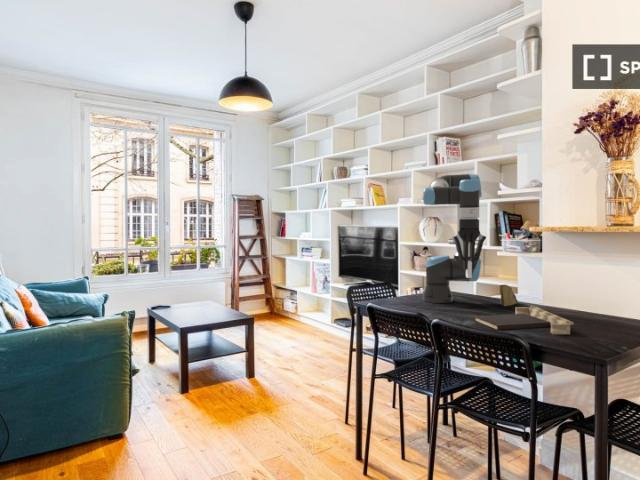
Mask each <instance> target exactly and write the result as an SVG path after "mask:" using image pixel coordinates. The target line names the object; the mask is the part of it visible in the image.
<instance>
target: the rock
mask: <svg viewBox="0 0 640 480" xmlns="http://www.w3.org/2000/svg"><path fill="white" fill-rule="evenodd" d="M499 294H500V301H499V302H500V305H501V306H503V307H509V306H513V305H515V304H518V303H519V302H518V299H517V296H516V294H515V293H514V291H513V288H512V287H511V286H509V285H508V284H500V286H499Z"/></svg>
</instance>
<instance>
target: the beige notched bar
mask: <svg viewBox="0 0 640 480" xmlns="http://www.w3.org/2000/svg"><path fill="white" fill-rule="evenodd" d="M514 310H515V313H514V314H527V315H530V316H533V317H536V318H539V319H542V320H545V321H548V322H550V323H551V327H550V334H551V333H552V334H551V335H571V326H573V325H574V322H573V321H571V320H569V319H566V318H564V317H563V316H560V315H557V314H554V313H552V312H550V311H547V310H545V309H542V308H541V307H537V306H536V305H532V304H531V305H530V306H529V307H526V306H521V307H520V306H519V307H517V306H516V307H515V309H514Z"/></svg>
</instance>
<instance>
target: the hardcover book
mask: <svg viewBox="0 0 640 480" xmlns="http://www.w3.org/2000/svg"><path fill="white" fill-rule="evenodd" d="M474 318H475V321H476V322H478V323H480V324H483V325H486V326H487V327H491V328H493V329H495V330H497V331H500V330H501V331H502V330H516V329H517V330H518V329H519V330H521V329H533V328H535V329H536V327H538V328H549V327H548V326H551V323H550V322H548V321H545V320H542V319H539V318H536V317H533V316H530V315H527V314H515V313H513V314H509V313H508V314H495V315H494V314H493V315H476V316H475V315H474Z"/></svg>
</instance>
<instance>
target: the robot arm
mask: <svg viewBox="0 0 640 480" xmlns="http://www.w3.org/2000/svg"><path fill="white" fill-rule="evenodd" d="M482 195H483V194H482V185H481V180H480V176H479V175H478V174H475V173H467V174H466V173H465V174H463V173H462V174H446V175H442V176H439V177H437V178H434V179H433V180H432V181H431V182H430V183H429V186H428V187H424V188H423V190H422V196H423V199H422V200H423V204H424V205H426V206H434V205H435V206H437V205H438V206H439V205H443V206H444V205H456V206H457V208H456V209H457V210H456V212H457V214H456V215H457V216H456V217H457V218H456V219H457V222H456V226H457V227H456V234H455V235H453V236H452V237H451V238H452V240H453V241H454V245H455V248H456V252H455V253H454V254H453V258H451V257H450V255H449V254H448V255H437V256H436V255H435V256H431V257H427V259H426V261H425V262H426V263H425V269H426V270H425V275H426V276H425V288H424V291H423V293H422V301H423V302H425V303H431V304H432V303H433V304H449V303H453V300H454V299H453V298H454V297H453V296H454V295H453V294H452V290H451V288H450V282H467V283H469V282H478V280H479V279H480V278H479V277H480V275H481V274H480V272H481V267H482V259H481V258H480V257H481V253H482V249H483V244H484V242H485V241H486V238H487V236H486V235H483V234H481V231H480V220H479V218H480V198H482ZM477 239H478V241H477ZM476 241H477V246H476Z"/></svg>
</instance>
